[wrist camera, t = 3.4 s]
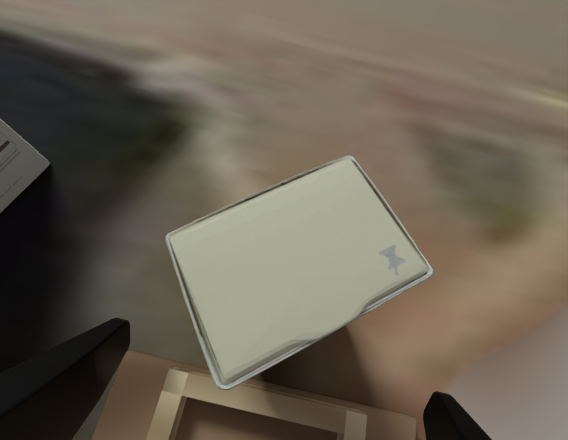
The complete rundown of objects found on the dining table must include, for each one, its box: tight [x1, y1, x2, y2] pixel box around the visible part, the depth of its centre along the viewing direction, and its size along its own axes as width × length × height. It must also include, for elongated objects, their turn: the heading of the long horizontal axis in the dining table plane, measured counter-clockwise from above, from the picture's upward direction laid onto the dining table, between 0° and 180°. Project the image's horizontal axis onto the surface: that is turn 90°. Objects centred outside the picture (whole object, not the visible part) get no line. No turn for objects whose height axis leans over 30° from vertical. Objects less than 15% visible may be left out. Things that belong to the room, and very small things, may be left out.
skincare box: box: [166, 156, 433, 390], centre depth 14 cm, size 6×4×12 cm
